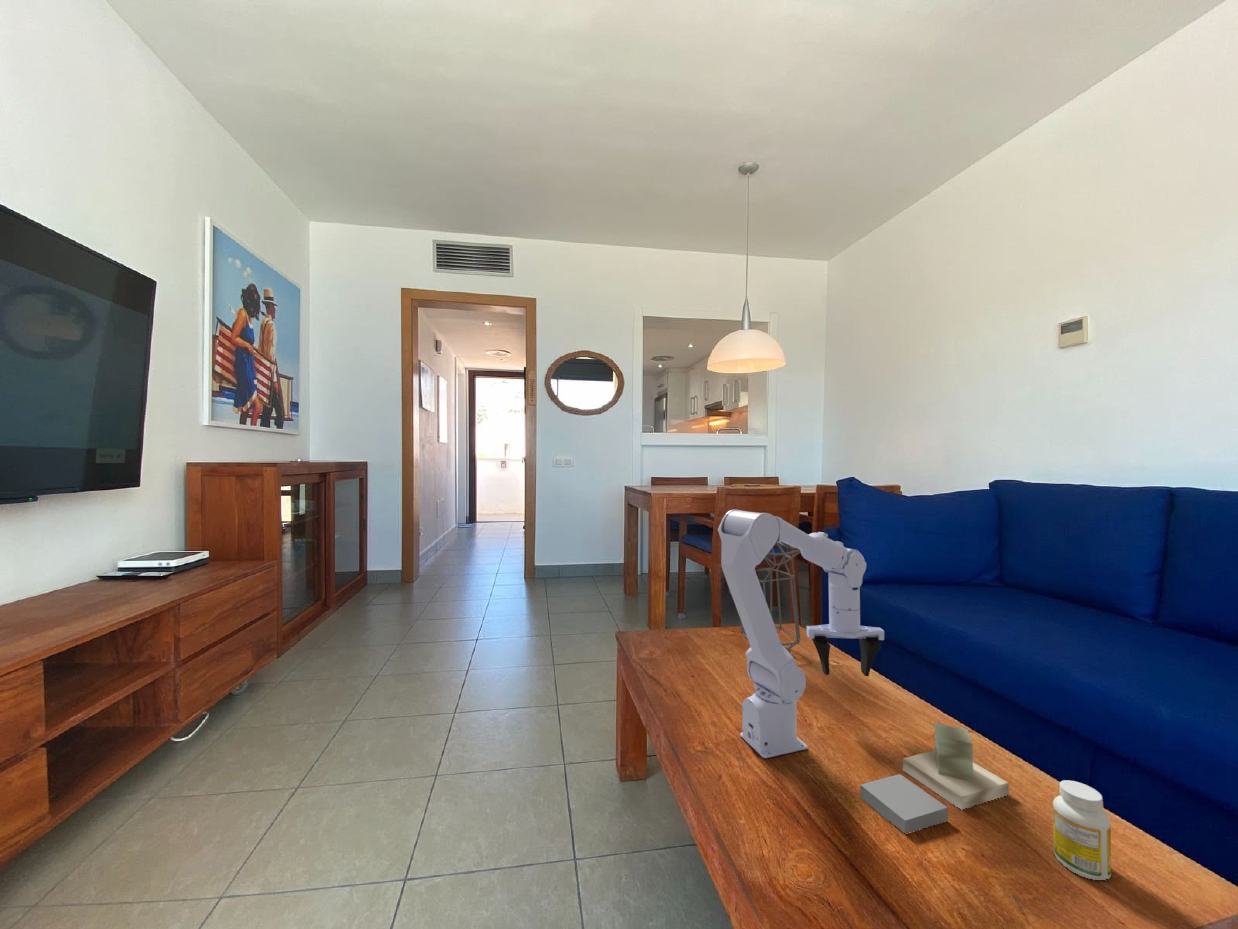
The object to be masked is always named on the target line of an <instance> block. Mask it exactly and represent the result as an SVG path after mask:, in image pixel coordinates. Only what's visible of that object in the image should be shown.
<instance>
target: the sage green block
mask: <svg viewBox="0 0 1238 929" xmlns="http://www.w3.org/2000/svg"><path fill="white" fill-rule="evenodd" d="M934 750H935V760H936V764H937V769H938V773H939V774H941V775H945V776H949V777H954V778H958V779H962V780H966V781H970V782H973V763H974V761H973V760H974V756H973V751H974V750H973V741H972V738H971V736H970V733H969V730H968V729H967V728H963V727H962V728H961V727H956V726H952V725H945V724H941V723H938V722H937V723H936V722H935V723H934Z"/></svg>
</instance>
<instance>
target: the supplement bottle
mask: <svg viewBox="0 0 1238 929" xmlns="http://www.w3.org/2000/svg"><path fill="white" fill-rule="evenodd" d="M1103 800H1104V799H1103V795H1102V794H1101V793H1100V792H1099V791H1097V789H1095V788H1093V787H1092V786H1089V785H1088V784H1084V783H1082V782H1079V781H1075V780H1069V779H1068V780H1067V779H1066V780H1065V779H1063V780H1061V781H1060V782H1059V795H1058V796H1056V797H1055V798H1054V799H1053V801H1052V821H1053V823H1052V824H1053V827H1052V828H1053V852H1054V855H1055V858H1056V859H1057V861H1058V860H1059V861H1060V862H1061V863H1062V864H1063V865H1062V864H1061V863H1060V862H1059V861H1058V862H1059V863H1060V864H1061V865H1062V866H1063V867H1065V868H1066V867H1067V868H1068V870H1069V871H1071V872H1072V873H1074V874H1075V873H1076V874H1075V875H1077V874H1078V876H1080V877H1082V878H1084V877H1085V878H1084V879H1087V878H1088V879H1087V880H1090V879H1093V880H1092V881H1095V880H1105V881H1107V880H1106V879H1108V880H1110V878H1111V875H1112V866H1111V865H1112V858H1111V856H1112V854H1111V853H1112V847H1111V846H1112V843H1111V842H1112V841H1111V840H1112V837H1111V835H1112V833H1111V832H1112V829H1111V827H1112V826H1111V825H1112V824H1111V820H1110V818H1109V816H1108V814H1107V813H1106V812H1105V810H1103V808H1104V801H1103ZM1067 868H1066V869H1067Z"/></svg>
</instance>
